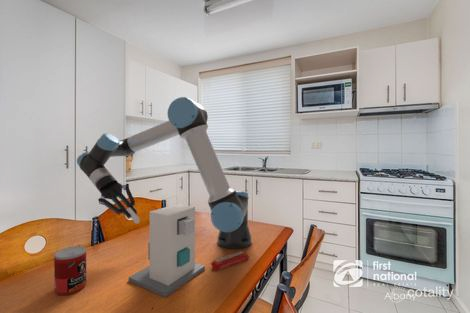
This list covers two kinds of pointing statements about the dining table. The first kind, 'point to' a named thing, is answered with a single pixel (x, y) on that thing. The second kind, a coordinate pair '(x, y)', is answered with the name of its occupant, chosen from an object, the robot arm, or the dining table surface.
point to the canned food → (70, 270)
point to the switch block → (168, 252)
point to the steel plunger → (185, 226)
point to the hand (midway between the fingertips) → (137, 221)
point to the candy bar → (229, 260)
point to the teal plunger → (178, 256)
